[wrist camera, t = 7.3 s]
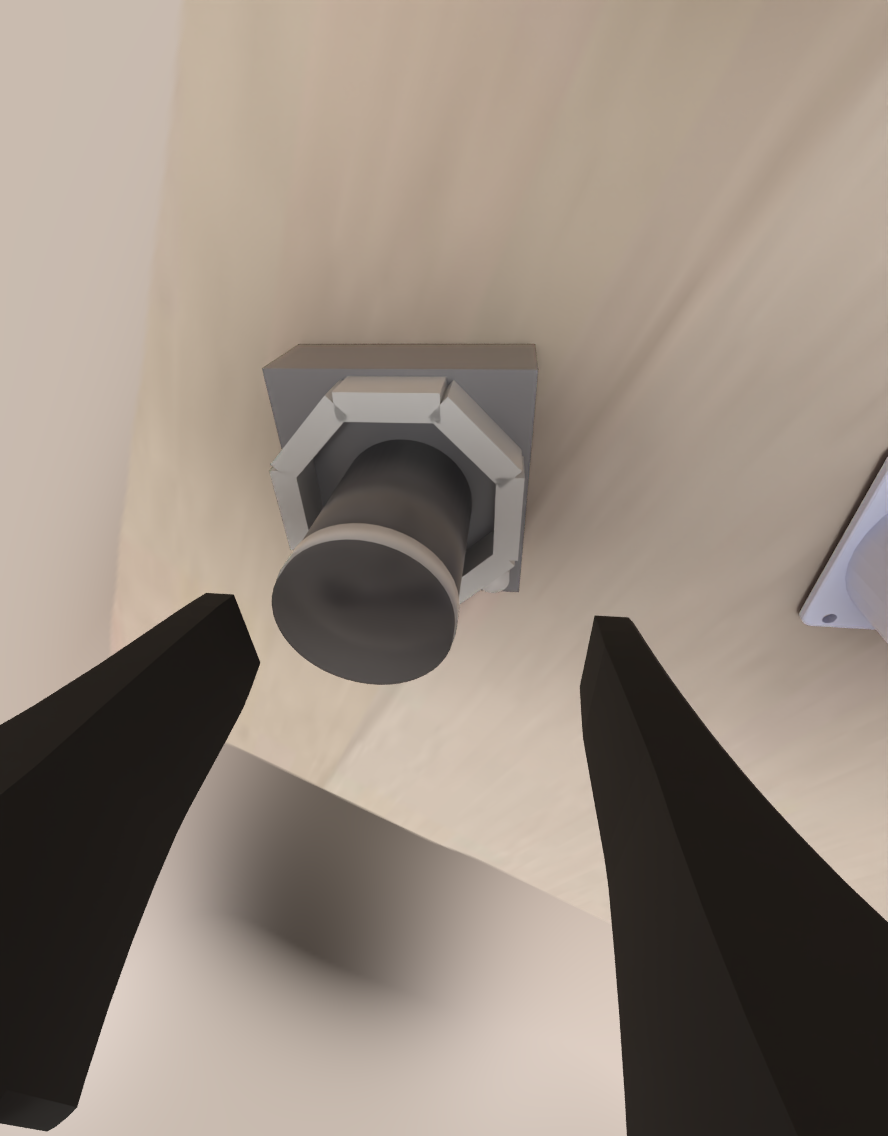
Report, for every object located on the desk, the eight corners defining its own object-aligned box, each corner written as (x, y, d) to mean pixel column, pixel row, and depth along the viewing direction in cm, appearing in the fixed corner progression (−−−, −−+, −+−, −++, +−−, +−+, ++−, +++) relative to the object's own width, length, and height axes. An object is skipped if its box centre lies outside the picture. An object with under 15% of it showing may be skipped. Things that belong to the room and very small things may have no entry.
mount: (534, 344, 16) (540, 386, 12) (518, 546, 20) (519, 619, 17) (298, 344, 16) (238, 383, 13) (336, 538, 21) (300, 606, 18)
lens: (469, 434, 15) (446, 543, 10) (477, 555, 17) (462, 688, 12) (327, 441, 15) (242, 546, 11) (356, 557, 18) (299, 683, 13)
